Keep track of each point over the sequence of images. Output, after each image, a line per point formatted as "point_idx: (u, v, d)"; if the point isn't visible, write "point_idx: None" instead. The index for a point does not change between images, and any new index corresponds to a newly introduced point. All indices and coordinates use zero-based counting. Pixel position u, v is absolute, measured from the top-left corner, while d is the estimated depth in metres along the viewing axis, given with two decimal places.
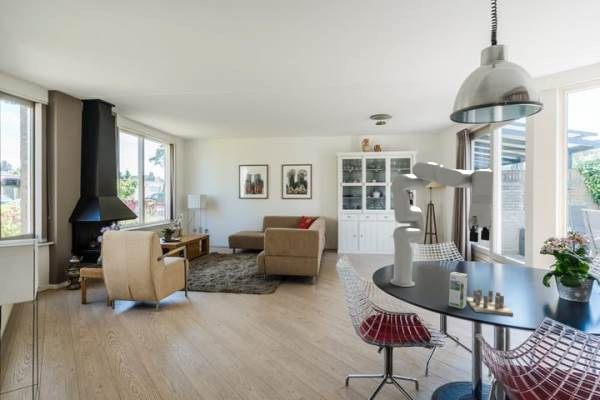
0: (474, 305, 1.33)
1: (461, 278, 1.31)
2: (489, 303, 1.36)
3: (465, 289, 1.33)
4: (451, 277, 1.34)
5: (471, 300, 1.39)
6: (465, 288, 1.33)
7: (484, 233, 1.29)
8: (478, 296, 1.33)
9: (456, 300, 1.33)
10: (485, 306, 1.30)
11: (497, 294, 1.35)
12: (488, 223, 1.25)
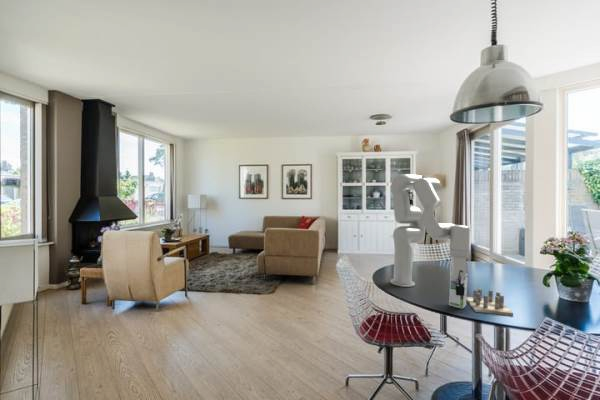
0: (474, 305, 1.33)
1: None
2: (489, 303, 1.36)
3: (465, 289, 1.33)
4: (451, 277, 1.34)
5: (471, 300, 1.39)
6: (465, 288, 1.33)
7: None
8: (478, 296, 1.33)
9: (456, 300, 1.33)
10: (485, 306, 1.30)
11: (497, 294, 1.35)
12: None
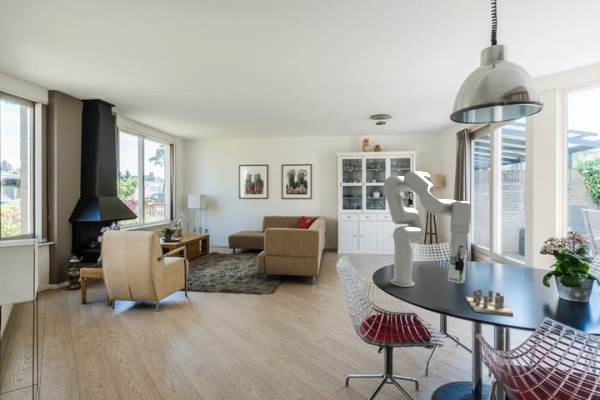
0: (474, 305, 1.33)
1: None
2: (489, 303, 1.36)
3: (464, 264, 1.34)
4: (451, 252, 1.35)
5: (471, 300, 1.39)
6: (464, 263, 1.33)
7: None
8: (478, 296, 1.33)
9: (455, 275, 1.33)
10: (485, 306, 1.30)
11: (497, 294, 1.35)
12: None
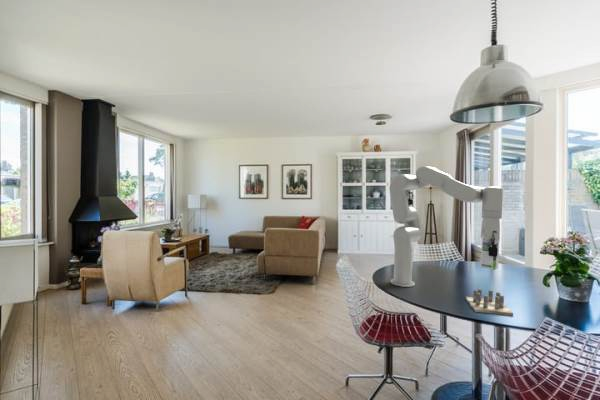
0: (474, 305, 1.33)
1: None
2: (489, 303, 1.36)
3: (498, 250, 1.32)
4: (483, 239, 1.33)
5: (471, 300, 1.39)
6: None
7: None
8: (478, 296, 1.33)
9: (488, 261, 1.32)
10: (485, 306, 1.30)
11: (497, 294, 1.35)
12: None
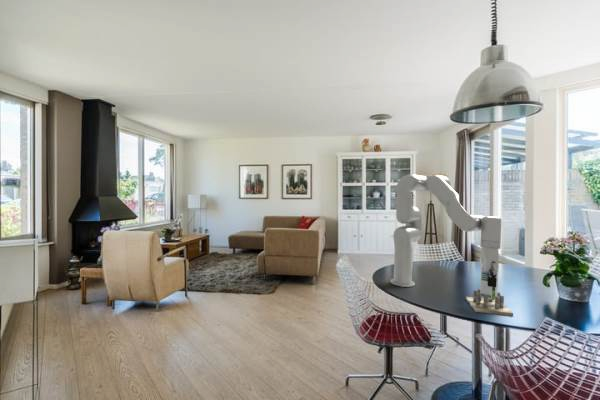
0: (474, 305, 1.33)
1: None
2: (489, 303, 1.36)
3: (497, 280, 1.33)
4: (482, 268, 1.34)
5: (471, 300, 1.39)
6: None
7: None
8: (478, 296, 1.33)
9: (487, 291, 1.32)
10: (485, 306, 1.30)
11: (497, 294, 1.35)
12: None
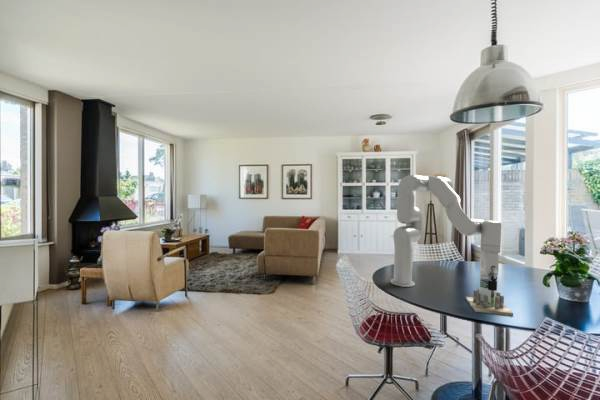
0: (474, 305, 1.33)
1: None
2: None
3: None
4: (481, 275, 1.34)
5: (471, 300, 1.39)
6: None
7: None
8: (478, 296, 1.33)
9: None
10: (485, 306, 1.30)
11: (497, 294, 1.35)
12: None
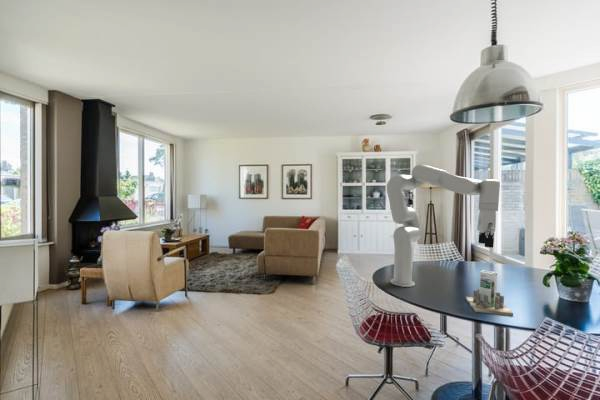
0: (474, 305, 1.33)
1: (492, 276, 1.31)
2: None
3: (495, 287, 1.33)
4: (481, 275, 1.34)
5: (471, 300, 1.39)
6: (495, 286, 1.33)
7: (482, 237, 1.40)
8: (478, 296, 1.33)
9: None
10: (485, 306, 1.30)
11: (497, 294, 1.35)
12: None
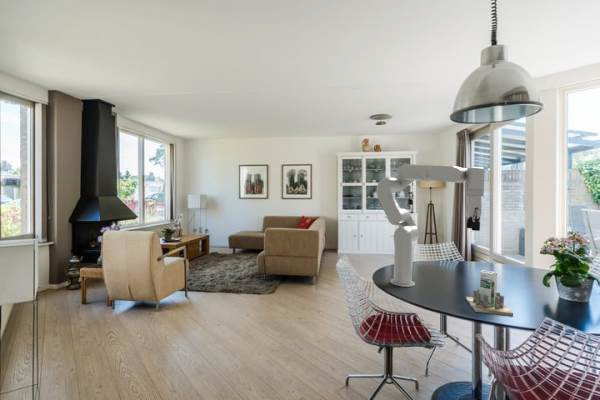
0: (474, 305, 1.33)
1: (492, 276, 1.31)
2: None
3: (495, 287, 1.33)
4: (481, 275, 1.34)
5: (471, 300, 1.39)
6: (495, 286, 1.33)
7: (470, 222, 1.48)
8: (478, 296, 1.33)
9: None
10: (485, 306, 1.30)
11: (497, 294, 1.35)
12: None
